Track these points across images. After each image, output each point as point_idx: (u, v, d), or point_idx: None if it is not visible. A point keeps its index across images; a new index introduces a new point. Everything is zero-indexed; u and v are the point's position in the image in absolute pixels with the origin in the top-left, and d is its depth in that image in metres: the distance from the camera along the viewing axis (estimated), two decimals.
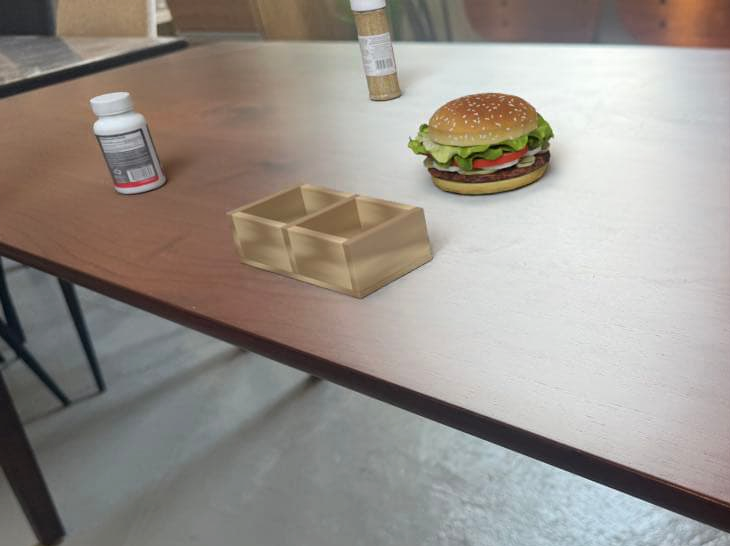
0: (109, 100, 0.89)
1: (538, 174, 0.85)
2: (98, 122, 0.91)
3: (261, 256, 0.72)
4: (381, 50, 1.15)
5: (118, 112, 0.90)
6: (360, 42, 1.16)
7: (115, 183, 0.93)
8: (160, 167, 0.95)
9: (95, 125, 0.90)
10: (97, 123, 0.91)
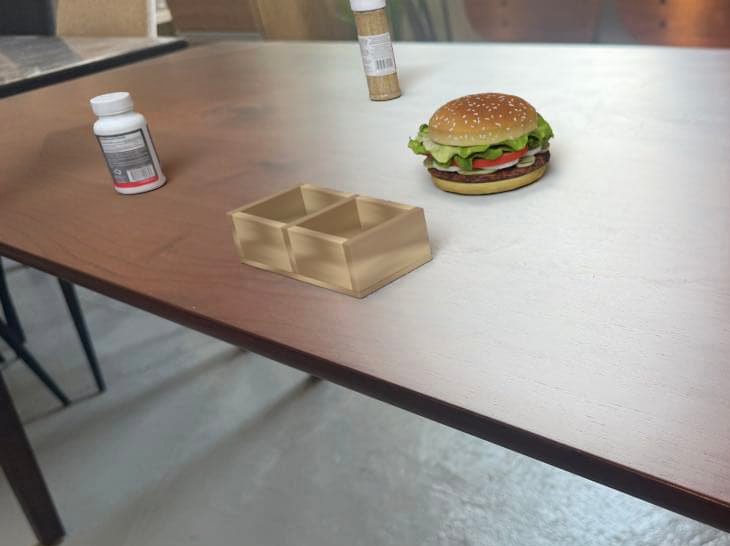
0: (109, 100, 0.89)
1: (538, 174, 0.85)
2: (98, 122, 0.91)
3: (261, 256, 0.72)
4: (381, 50, 1.15)
5: (118, 112, 0.90)
6: (360, 42, 1.16)
7: (115, 183, 0.93)
8: (160, 167, 0.95)
9: (95, 125, 0.90)
10: (97, 123, 0.91)
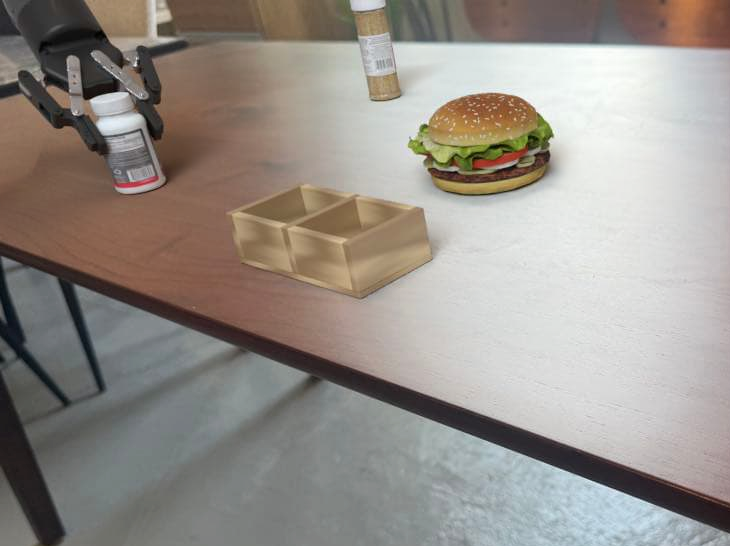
0: (109, 100, 0.89)
1: (538, 174, 0.85)
2: (98, 122, 0.91)
3: (261, 256, 0.72)
4: (381, 50, 1.15)
5: (118, 112, 0.90)
6: (360, 42, 1.16)
7: (115, 183, 0.93)
8: (160, 167, 0.95)
9: (95, 125, 0.90)
10: (97, 123, 0.91)
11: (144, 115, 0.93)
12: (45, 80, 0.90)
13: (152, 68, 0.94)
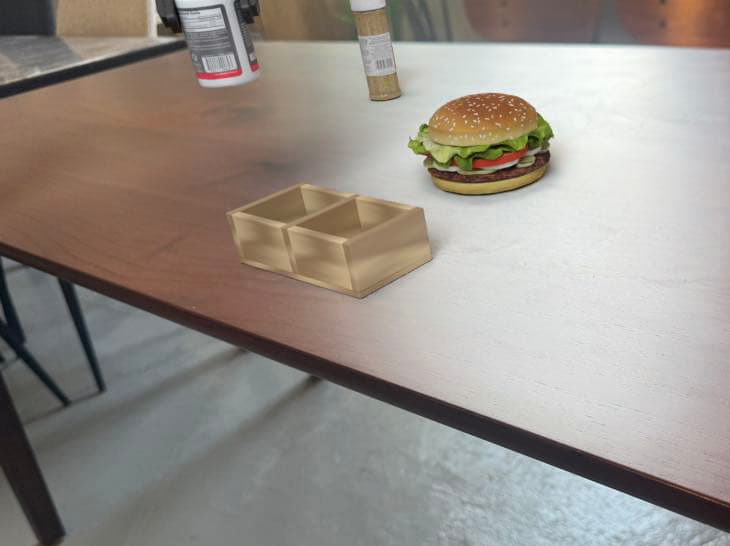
0: None
1: (538, 174, 0.85)
2: None
3: (261, 256, 0.72)
4: (381, 50, 1.15)
5: None
6: (360, 42, 1.16)
7: (196, 72, 0.75)
8: (249, 59, 0.74)
9: None
10: None
11: None
12: None
13: None
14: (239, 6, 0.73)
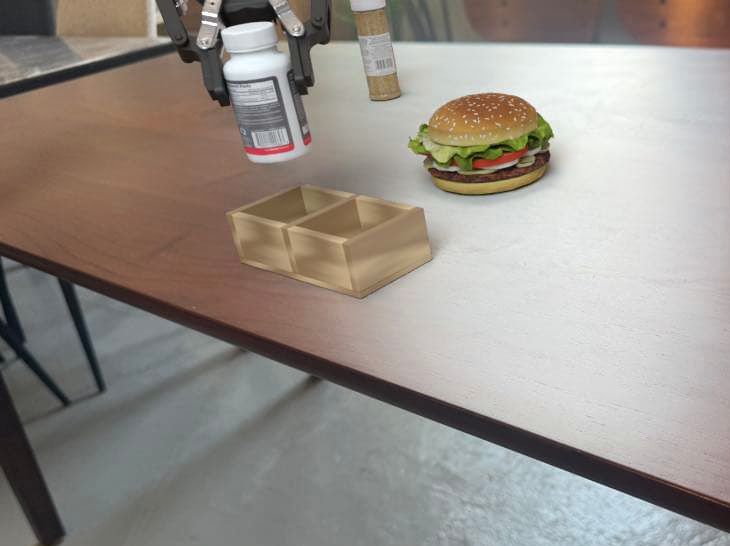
0: (238, 32, 0.64)
1: (538, 174, 0.85)
2: (229, 61, 0.66)
3: (261, 256, 0.72)
4: (381, 50, 1.15)
5: (247, 50, 0.64)
6: (360, 42, 1.16)
7: (244, 145, 0.69)
8: (301, 132, 0.68)
9: None
10: None
11: None
12: None
13: None
14: (292, 76, 0.67)
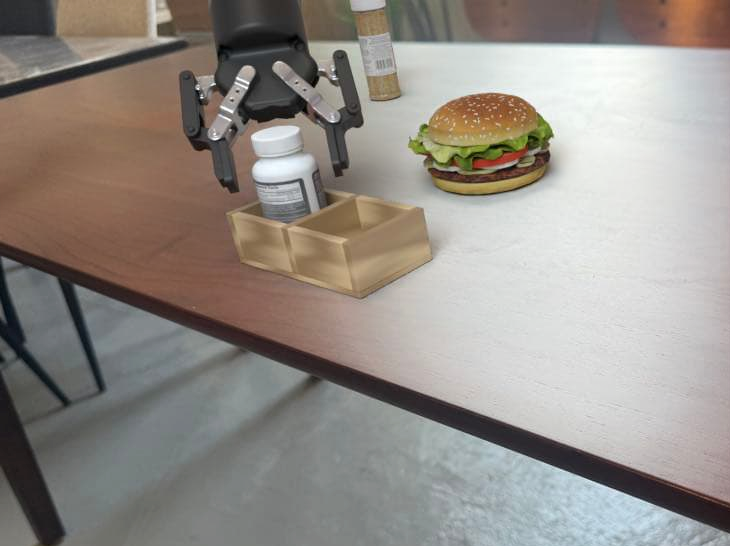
0: (267, 139, 0.68)
1: (538, 174, 0.85)
2: (257, 162, 0.70)
3: (261, 256, 0.72)
4: (381, 50, 1.15)
5: (276, 155, 0.69)
6: (360, 42, 1.16)
7: None
8: None
9: None
10: (256, 163, 0.70)
11: None
12: None
13: (350, 81, 0.71)
14: (317, 176, 0.71)
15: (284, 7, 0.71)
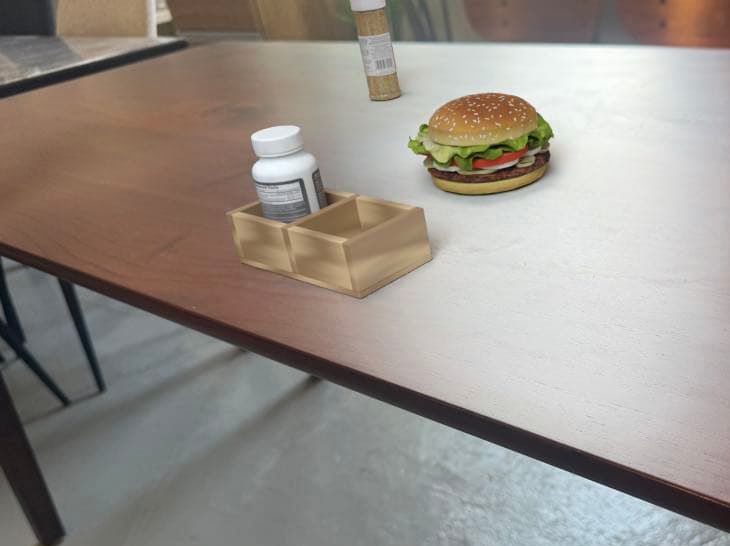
0: (267, 139, 0.68)
1: (538, 174, 0.85)
2: (257, 162, 0.70)
3: (261, 256, 0.72)
4: (381, 50, 1.15)
5: (276, 155, 0.69)
6: (360, 42, 1.16)
7: None
8: None
9: None
10: (256, 163, 0.70)
11: None
12: None
13: None
14: (317, 176, 0.71)
15: None
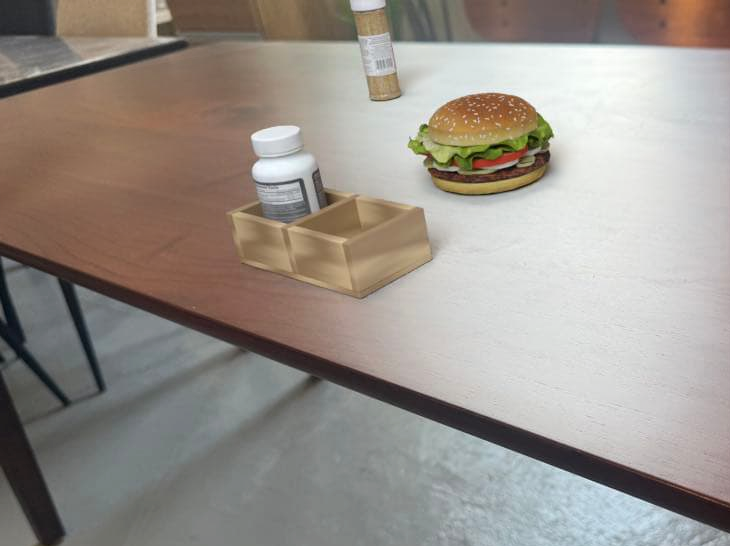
0: (267, 139, 0.68)
1: (538, 174, 0.85)
2: (257, 162, 0.70)
3: (261, 256, 0.72)
4: (381, 50, 1.15)
5: (276, 155, 0.69)
6: (360, 42, 1.16)
7: None
8: None
9: None
10: (256, 163, 0.70)
11: None
12: None
13: None
14: (317, 176, 0.71)
15: None
